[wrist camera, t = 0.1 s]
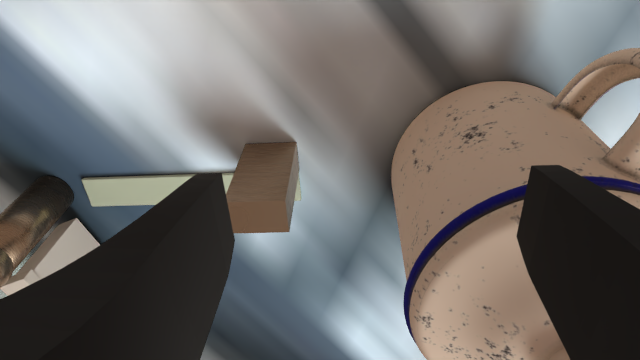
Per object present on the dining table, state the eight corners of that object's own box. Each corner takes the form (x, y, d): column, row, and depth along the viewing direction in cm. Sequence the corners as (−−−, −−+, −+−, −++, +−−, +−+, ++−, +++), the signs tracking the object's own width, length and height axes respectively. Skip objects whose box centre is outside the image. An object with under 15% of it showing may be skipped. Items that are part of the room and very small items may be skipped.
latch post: (299, 169, 22) (289, 231, 18) (250, 171, 23) (229, 233, 19) (296, 141, 22) (285, 200, 18) (245, 143, 22) (222, 202, 18)
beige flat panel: (55, 223, 24) (-1, 287, 20) (76, 215, 24) (23, 278, 20) (179, 360, 30) (154, 432, 26) (197, 355, 29) (175, 427, 25)
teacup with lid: (508, 263, 25) (614, 507, 15) (353, 205, 23) (359, 434, 14) (682, 61, 19) (1049, 248, 9) (489, -35, 17) (679, 65, 8)
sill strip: (301, 198, 23) (300, 200, 23) (93, 204, 24) (92, 206, 24) (298, 170, 22) (297, 172, 22) (83, 177, 23) (81, 180, 23)
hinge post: (81, 209, 24) (1, 306, 19) (41, 210, 24) (-50, 307, 19) (67, 173, 23) (-24, 265, 18) (25, 174, 23) (-78, 266, 18)
